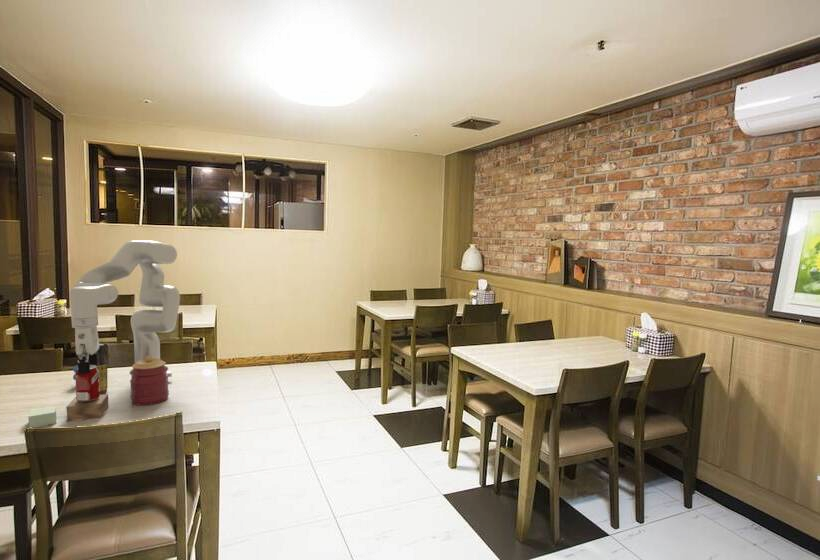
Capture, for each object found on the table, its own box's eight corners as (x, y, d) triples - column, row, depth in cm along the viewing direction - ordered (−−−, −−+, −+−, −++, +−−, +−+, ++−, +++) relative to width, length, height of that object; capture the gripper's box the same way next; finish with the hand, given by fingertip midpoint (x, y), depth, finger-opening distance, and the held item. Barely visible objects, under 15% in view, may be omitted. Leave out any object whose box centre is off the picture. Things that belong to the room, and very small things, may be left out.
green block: (56, 416, 159) (55, 405, 159) (56, 423, 154) (55, 412, 153) (30, 421, 155) (29, 409, 155) (29, 428, 149) (28, 416, 149)
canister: (128, 398, 179) (127, 354, 177) (165, 391, 186) (164, 349, 185) (132, 408, 168) (131, 361, 167) (171, 401, 176) (170, 356, 175)
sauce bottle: (93, 397, 178) (91, 347, 177) (85, 394, 182) (83, 345, 180) (111, 392, 184) (109, 344, 182) (103, 389, 187) (102, 342, 185)
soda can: (87, 404, 158) (86, 370, 157) (71, 402, 159) (70, 368, 158) (104, 397, 165) (103, 365, 164) (88, 395, 166) (87, 363, 165)
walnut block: (108, 407, 169) (107, 394, 168) (101, 417, 160) (101, 403, 159) (76, 410, 165) (75, 396, 165) (67, 420, 156) (66, 406, 155)
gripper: (90, 326, 153) (94, 375, 155) (103, 316, 169) (106, 360, 171) (63, 328, 150) (67, 378, 152) (79, 317, 166) (82, 362, 168)
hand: (88, 368), depth 162 cm, fingers open, 9 cm apart
